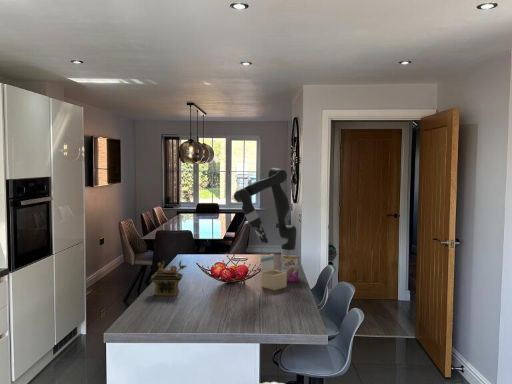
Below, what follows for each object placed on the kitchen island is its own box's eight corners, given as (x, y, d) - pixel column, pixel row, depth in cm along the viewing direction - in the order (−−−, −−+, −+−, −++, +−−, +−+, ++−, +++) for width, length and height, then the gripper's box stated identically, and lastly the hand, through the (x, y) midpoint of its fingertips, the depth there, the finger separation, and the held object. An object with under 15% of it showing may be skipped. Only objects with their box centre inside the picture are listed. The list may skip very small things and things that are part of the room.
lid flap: (273, 269, 295) (273, 269, 295) (273, 254, 294) (272, 253, 295) (261, 272, 286) (260, 272, 286) (261, 256, 285) (260, 256, 286)
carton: (273, 284, 295) (274, 269, 295) (286, 286, 289) (286, 272, 288) (261, 287, 286) (261, 272, 285) (274, 290, 279) (274, 275, 279)
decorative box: (150, 295, 263) (150, 260, 262) (153, 291, 273) (154, 257, 272) (186, 296, 263) (186, 261, 262) (188, 291, 273) (188, 258, 272)
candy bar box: (280, 281, 302) (281, 256, 301) (281, 279, 307) (281, 254, 306) (298, 282, 301) (298, 256, 300) (298, 280, 306) (299, 255, 305)
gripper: (261, 216, 284) (273, 240, 285) (256, 216, 298) (268, 239, 299) (250, 221, 283) (262, 245, 283) (246, 221, 297) (257, 244, 297)
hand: (265, 242), depth 291 cm, fingers open, 8 cm apart
